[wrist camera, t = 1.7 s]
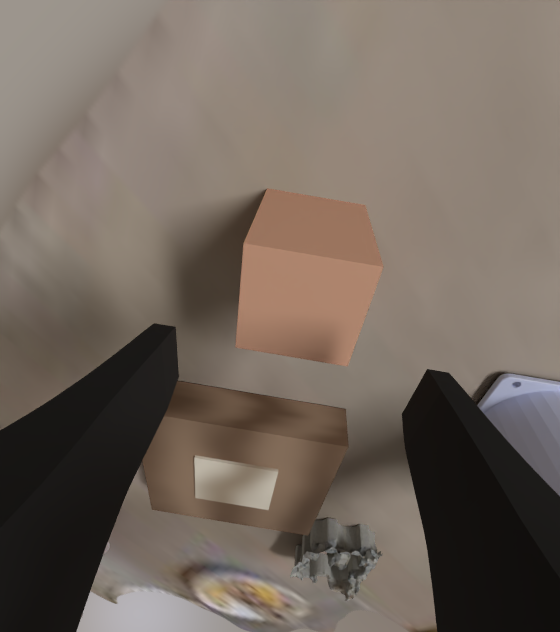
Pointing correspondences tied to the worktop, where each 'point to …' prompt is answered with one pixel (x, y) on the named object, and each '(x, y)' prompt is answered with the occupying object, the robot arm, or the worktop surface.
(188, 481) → the walnut base
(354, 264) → the terracotta block
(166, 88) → the worktop surface
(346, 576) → the egg carton
